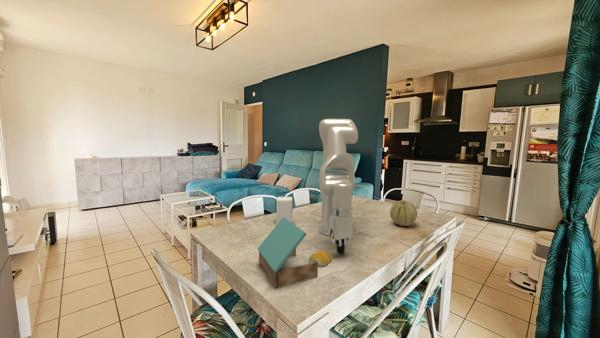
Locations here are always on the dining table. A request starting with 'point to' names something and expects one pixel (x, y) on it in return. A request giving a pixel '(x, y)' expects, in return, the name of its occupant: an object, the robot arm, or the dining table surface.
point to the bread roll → (320, 258)
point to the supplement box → (283, 209)
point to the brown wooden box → (289, 272)
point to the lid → (281, 243)
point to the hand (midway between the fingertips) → (340, 253)
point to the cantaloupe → (403, 213)
